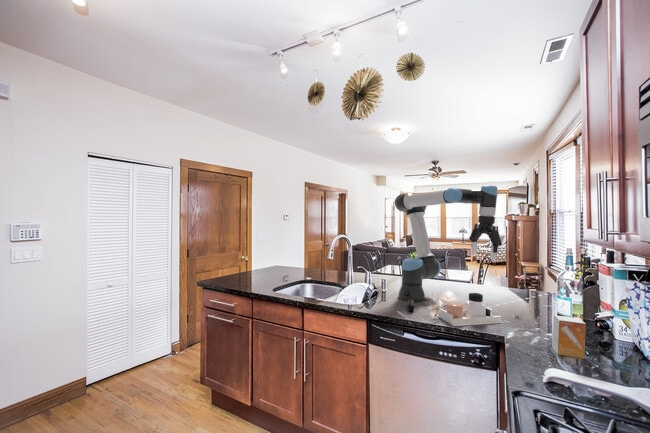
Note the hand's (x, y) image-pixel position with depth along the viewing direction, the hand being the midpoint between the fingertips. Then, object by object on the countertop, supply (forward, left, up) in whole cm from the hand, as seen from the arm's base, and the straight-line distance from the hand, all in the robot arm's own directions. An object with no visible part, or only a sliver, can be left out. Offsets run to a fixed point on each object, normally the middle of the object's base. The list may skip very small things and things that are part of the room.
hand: (483, 256), depth 158 cm
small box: (+47, -1, -29) cm, 55 cm away
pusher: (+11, -5, -28) cm, 30 cm away
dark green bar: (-9, -35, -30) cm, 47 cm away
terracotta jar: (+11, -23, -28) cm, 38 cm away
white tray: (+11, -16, -29) cm, 35 cm away
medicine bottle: (+10, -12, -28) cm, 33 cm away
